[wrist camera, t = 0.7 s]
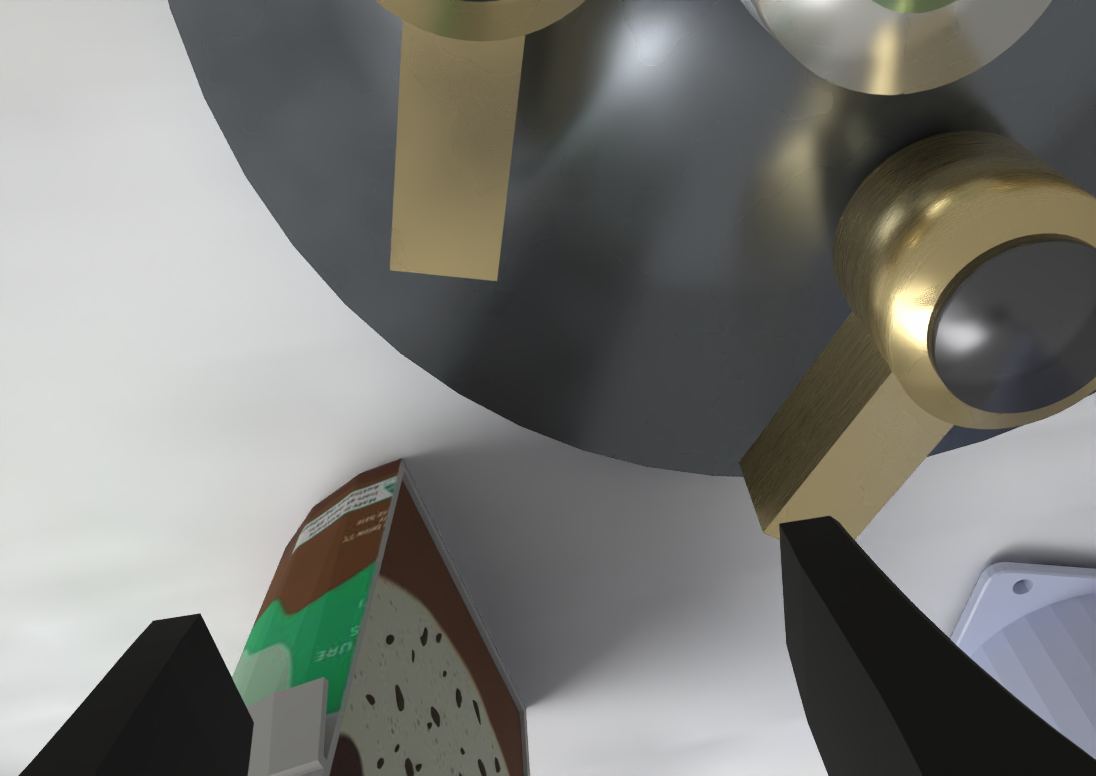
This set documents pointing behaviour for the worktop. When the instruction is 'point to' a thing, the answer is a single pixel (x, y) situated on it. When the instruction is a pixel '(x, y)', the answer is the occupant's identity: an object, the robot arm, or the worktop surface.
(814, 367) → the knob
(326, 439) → the worktop surface
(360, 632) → the food container
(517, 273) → the tribrach plate
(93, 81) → the worktop surface
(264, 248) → the worktop surface
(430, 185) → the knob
